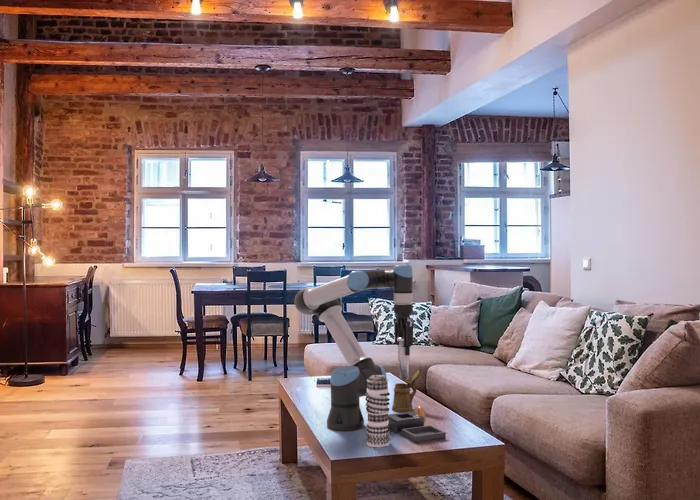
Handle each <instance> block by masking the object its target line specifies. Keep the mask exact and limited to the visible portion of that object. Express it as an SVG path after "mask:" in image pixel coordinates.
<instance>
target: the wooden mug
mask: <svg viewBox="0 0 700 500" xmlns="http://www.w3.org/2000/svg"><path fill="white" fill-rule="evenodd" d="M422 370H423V369H422V368H420V369H417V371H415V373H414V374H413V376H412V378H411V381H410V382H407V383H402V382H401V383H395V384H394V388H393V392H394V394H393V403H392V406H391V411H392V412H393V411H394V412H396V413H404V412H412V410H414V409H413V408H414V407H413V405H412V403H413V400H414V397H415V395H416V393H417V389H418V388H417V385H416V383H415V382H416V381H417V380H418V379H419V377H420V375H421V373H422ZM411 389H412V392H411V393H410V391H411Z"/></svg>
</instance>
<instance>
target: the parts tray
mask: <svg viewBox="0 0 700 500" xmlns="http://www.w3.org/2000/svg"><path fill="white" fill-rule="evenodd" d="M401 437H403V438H404V439H407V440H409V441H410V442H412V443H414V444H419V443H420V444H421V443H426V442H427V443H429V442H434V441H441V440H447V432H445V431H443V430H442V429H439V428H438V427H436V426H434V425H433V424H432V425H431V424H430V425H429V424H428V425H424V426H421V427H413V428H406V429H402V433H401Z"/></svg>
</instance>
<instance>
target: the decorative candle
mask: <svg viewBox="0 0 700 500" xmlns="http://www.w3.org/2000/svg"><path fill="white" fill-rule="evenodd" d="M366 381H367V386H368V387H367V392H366V394H365V395H366V396H365V401H366V402H365V411H366V414H367V421H366V422H367V423H366V432H367V433H366V445H367V446H369V447H372V448H384V447H387V446H389V445H390V433H389V432H390V429H389V424H388V423H389V420H388V414H390V408H389V405H390V404H391V403H390V402H389V401H390V400H391V399H390V398H389V396H390V395H391V393H390V392H389V386H388V385H389V384H388V382H389V379H386V377H385V376H383V375H372V376H370V377H369V379H367V380H366ZM367 394H368V395H367Z"/></svg>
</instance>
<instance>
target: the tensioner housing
mask: <svg viewBox="0 0 700 500" xmlns="http://www.w3.org/2000/svg"><path fill="white" fill-rule="evenodd" d="M425 411H426V410H425V409H424V407H422V406H421V405H420V406H415V407H414V409H413V411H408V412H396V413H388V420H389V423H388V424H389V431H391V432H393V433H395V434H402V429H406V428H413V427H421V426H425V422H426V417H427V416H426V412H425Z"/></svg>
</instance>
